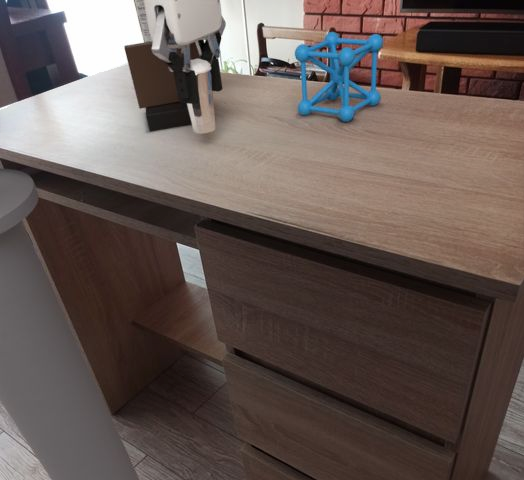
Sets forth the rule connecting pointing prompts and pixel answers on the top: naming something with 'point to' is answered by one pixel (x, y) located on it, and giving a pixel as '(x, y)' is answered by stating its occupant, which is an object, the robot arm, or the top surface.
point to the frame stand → (167, 116)
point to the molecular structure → (339, 74)
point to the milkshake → (203, 98)
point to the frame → (153, 75)
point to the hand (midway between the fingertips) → (201, 94)
